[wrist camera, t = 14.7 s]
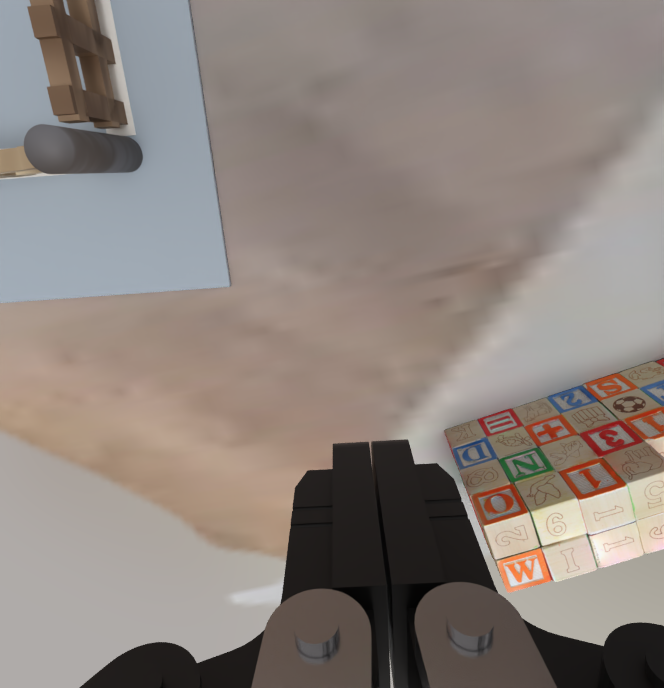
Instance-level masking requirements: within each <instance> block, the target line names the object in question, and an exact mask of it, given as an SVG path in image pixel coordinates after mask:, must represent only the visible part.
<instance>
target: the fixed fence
mask: <svg viewBox="0 0 664 688" xmlns="http://www.w3.org/2000/svg"><path fill="white" fill-rule="evenodd" d="M66 1H67V6H68V10H69V15H70V16H69V15H67V14H66V11H65V7H64V2H63V0H30V4H31V6H27V8H28V12H29V16H30V21H31V25H32V29H33V33H34V37H35V38H36V39H39V42H40V46H41V50H42V54H43V58H44V62H45V66H46V71H47V75H48V79H49V83H50V87H47V90H48V94H49V98H50V103H51V107H52V111H53V115H55V116H58V120H59V122H63V123H69V124H70V123H83V122H93V124H94V128H99V129H109V128H120V125H128V123H127V118H126V112H125V107H124V102H121V101H118V100H115V99H114V94H113V89H112V84H111V79H110V74H109V69H108V65H109V64H116V62H115V57H114V52H113V47H112V42H111V39H109V38H107V37H106V36H104V35H102V34H101V30H100V25H99V20H98V15H97V10H96V5H95V0H66ZM75 56H78V57H79V60H80V65H81V69H82V74H83V78H84V83H85V88H86V90H83V88H82V84H81V79H80V75H79V70H78V66H77V61H76V57H75ZM24 151H25V154H26V156H27V158H28V160H29V162H30V163H31V164H32V165H33V166H34V167H35V168H36V169H37V170H39V171H41V172H43V173H46V174H89V173H129V172H134V171H136V170H137V169H138V168H139V167H140V166H141V164H142V160H143V154H142V150H141V148H140V146H139V144H138V143H137V142H136V141H135V140H133V139H132V138H130V137H127V136H120V135H113V134H107V133H100V132H93V131H87V130H80V129H73V128H67V127H60V126H53V125H47V124H39V125H35V126H33V127H32V128H30V129H29V130H28V132H27V133H26V135H25V138H24Z"/></svg>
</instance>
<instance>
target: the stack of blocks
mask: <svg viewBox="0 0 664 688" xmlns="http://www.w3.org/2000/svg"><path fill="white" fill-rule="evenodd" d="M444 432H445V435H446V437H447V440H448V443H449V446H450V448H451V451H452V453H453V457H454V459H455V461H456V464H457V466H458V469H459V472H460V474H461V477H462V480H463V483H464V486H465V488H466V491H467V493H468V496H469V498H470V501H471V503H472V506H473V509H474V511H475V514H476V517H477V519H478V522H479V525H480V527H481V529H482V532H483V534H484V538H485V540H486V542H487V545H488V548H489V550H490V553H491V555H492V558H493V559H494V561H495V563H496V566H497V568H498V571H499V573H500V575H501V578H502V580H503V583H504V585H505V588H506V590H507V592H508V593H510V592H514V591H517V590H521V589H524V588H528V587H531V586H536V585H539V584H542V583H546V582H549V581H551V580H553V581H555V582H558V581H561V580H565V579H569V578H572V577H575V576H579V575H582V574H585V573H589V572H592V571H595V570H597V567H600V568H604V567H607V566H610V565H614V564H617V563H621V562H624V561H627V560H630V559H633V558H637V557H640V556H642V555H643V554H644V553H646V554H648V553H652V552H655V551H658V550H662V549H664V359H661V360H658V361H656V362H654V361H653V362H649V363H646V364H643V365H639V366H637V367H634V368H631V369H628V370H625V371H622V372H620V373H617V374H613V375H609V376H606V377H603V378H600V379H597V380H594V381H591V382H588V383H585V384H583V385H582V386H578V387H575V388H572V389H569V390H566V391H563V392H560V393H557V394H554V395H551V396H548V397H547V398H543V399H540V400H537V401H534V402H531V403H528V404H525V405H522V406H519V407H516V408H513V409H508V410H504V411H501V412H498V413H495V414H492V415H489V416H486V417H483V418H480V419H477V420H473V421H470V422H467V423H464V424H461V425H458V426H455V427H452V428H449V429H446V430H445V431H444Z"/></svg>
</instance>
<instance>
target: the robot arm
mask: <svg viewBox="0 0 664 688" xmlns="http://www.w3.org/2000/svg"><path fill="white" fill-rule="evenodd" d="M371 450H372V464H371V456H370V448H369V442H356V443H338V444H333V469H328V470H310V471H307V472H306V474H305V475H304V476H303V478H302V479H301V480H300V482H299V483H298V485H297V486H296V487H295V493H294V501H293V511H292V518H291V529H290V535H289V543H288V551H287V560H286V568H285V577H284V585H283V593H282V599H281V604H280V606H279V607H278V608H277V609H276V610H275V611H274V612H273V614H272V615H271V617H270V619H269V620H268V622H267V625H266V628H265V630H264V631H263V632H262V633H261V634H260V635H258V636H257V637H256V638H254V639H253V640H252V641H250V642H248V643H247V644H245V645H244V646H242V647H239V648H237V649H235V650H232V651H230V652H227V653H224V654H222V655H219V656H216V657H213V658H211V659H208V660H205V661H202V662H200V663H196V661H195V659H194V657H193V656H192V655H191V654H190V653H189V652H188V651H187V650H186V649H184V648H183V647H181V646H178V645H176V644H172V643H166V642H156V643H150V644H145V645H142V646H139V647H136V648H134V649H131V650H129V651H127V652H125V653H124V654H122V655H120V656H118V657H117V658H116V659H114V660H113V661H112V662H110V663H109V664H108V665H106V666H105V667H104V668H103V669H102V670H100V671H99V672H98V673H97V674H95V675H94V676H93V677H92V678H91V679H89V680H88V681H87V682H86V683H85V684H84V685H82V686H81V687H80V688H390V662H389V651H390V660H391V668H392V677H393V686H394V688H664V626H662V625H657V624H652V623H630V624H626V625H623V626H620V627H618V628H617V629H615V630H614V631H613V632H612V633H610V634H609V636H608V638H607V639H606V641H605V644H604V646H600V645H596V644H592V643H588V642H584V641H579V640H576V639H572V638H568V637H563V636H560V635H556V634H553V633H550V632H547V631H545V630H542V629H540V628H538V627H536V626H534V625H532V624H530V623H528V622H527V621H525V620H524V619H522V618H521V616H520V614H519V613H518V611H517V610H516V609H515V608H514V606H513V605H512V604H511V603H510V602H509V601H508V600H506V599H505V598H504V597H503V596H501V595H500V594H498V592H497V590H496V587H495V586H494V583H493V580H492V578H491V575H490V572H489V570H488V567H487V564H486V562H485V559H484V557H483V554H482V551H481V549H480V546H479V544H478V541H477V538H476V536H475V533H474V530H473V528H472V525H471V523H470V520H469V519H468V515H467V512H466V510H465V507H464V504H463V502H462V501H461V496H460V494H459V491H458V489H457V486H456V483H455V481H454V479H453V478H452V477H451V476H450V475H449V474H448V473H447V472H446V471H445V470H443V469H442V468H441V467H440V466H439V465H438V464H437V463H435V464H417V465H415V464H414V460H413V456H412V453H411V449H410V445H409V442H408V440H389V441H372V442H371Z"/></svg>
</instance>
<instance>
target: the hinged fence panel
mask: <svg viewBox="0 0 664 688" xmlns="http://www.w3.org/2000/svg"><path fill="white" fill-rule="evenodd" d="M39 173H43V172H41V171H39V170H37V169H36V168H35V167H34V166H33V165H32V164H31V163H30V162H29V160H28V158H27V156H26V154H25V151H24V146H18V147H17V148H9V149H1V150H0V178H7V177H23V176H31V175H36V174H39Z"/></svg>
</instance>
